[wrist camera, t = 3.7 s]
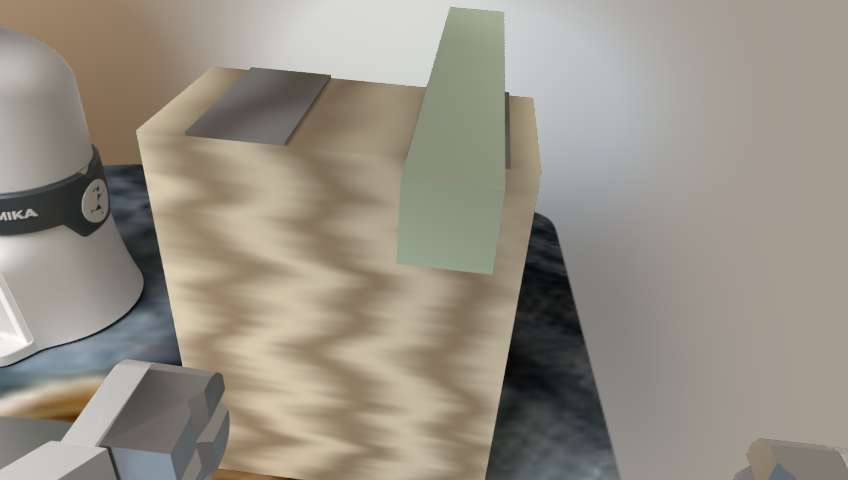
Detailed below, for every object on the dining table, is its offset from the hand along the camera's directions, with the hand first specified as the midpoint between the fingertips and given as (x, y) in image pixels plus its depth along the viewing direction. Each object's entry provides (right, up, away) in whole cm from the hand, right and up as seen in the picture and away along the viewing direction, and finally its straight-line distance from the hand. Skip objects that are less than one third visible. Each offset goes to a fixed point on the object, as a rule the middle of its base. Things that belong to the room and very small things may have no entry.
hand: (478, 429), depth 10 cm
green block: (+1, +8, +23) cm, 25 cm away
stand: (-6, -12, +40) cm, 42 cm away
